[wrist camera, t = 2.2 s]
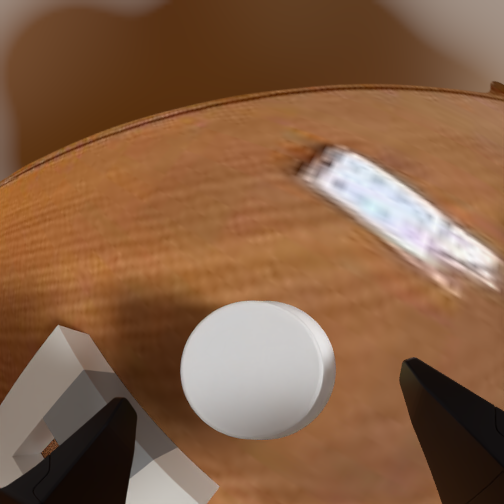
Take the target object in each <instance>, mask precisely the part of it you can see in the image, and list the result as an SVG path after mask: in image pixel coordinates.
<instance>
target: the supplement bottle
mask: <svg viewBox="0 0 504 504" xmlns="http://www.w3.org/2000/svg"><path fill="white" fill-rule="evenodd" d="M180 375H181V383H182V388H183V391H184V394H185V396H186V399H187V400H188V402H189V404H190V406H191V407H192V409H193V410H194V411H195V413H196V414H197V415H198V416H199V417H200V418H201V419H202V420H203V421H204V422H205V423H206V424H208V425H209V426H210V427H212V428H213V429H215V430H217V431H219V432H221V433H223V434H226V435H228V436H231V437H235V438H240V439H255V440H269V439H277V438H282V437H285V436H289V435H291V434H293V433H295V432H297V431H299V430H301V429H303V428H304V427H306V426H307V425H308V424H310V423H311V422H312V421H313V420H314V419H315V418H316V417H317V416H318V415H319V414H320V413H321V411H322V410H323V409H324V407H325V406H326V404H327V402H328V400H329V398H330V396H331V393H332V390H333V387H334V382H335V375H336V364H335V357H334V352H333V349H332V346H331V343H330V341H329V339H328V337H327V335H326V334H325V332H324V331H323V329H322V328H321V327H320V326H319V324H318V323H317V322H316V321H315V320H314V319H313V318H311V317H310V316H309V315H307V314H306V313H305V312H303V311H301V310H299V309H298V308H296V307H294V306H291V305H288V304H285V303H281V302H276V301H241V302H236V303H232V304H229V305H226V306H223V307H221V308H219V309H217V310H215V311H213V312H212V313H211V314H209V315H208V316H206V317H205V318H204V319H203V320H202V321H201V322H200V323H199V324H198V325H197V326H196V327H195V329H194V330H193V331H192V333H191V335H190V336H189V338H188V340H187V342H186V345H185V347H184V350H183V354H182V358H181V366H180Z"/></svg>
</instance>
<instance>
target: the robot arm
mask: <svg viewBox="0 0 504 504" xmlns="http://www.w3.org/2000/svg"><path fill="white" fill-rule="evenodd" d="M399 380H400V386H401V389H402V392H403V395H404V399H405V402H406V405H407V409H408V412H409V416H410V419H411V422H412V425H413V428H414V430H415V432H416V435H417V437H418V440H419V442H420V445H421V447H422V450H423V452H424V455H425V457H426V460H427V463H428V465H429V468H430V470H431V473H432V476H433V479H434V481H435V484H436V487H437V490H438V493H439V496H440V499H441V502H442V504H504V411H503V410H501V409H499V408H498V407H495V406H494V405H493V404H491V403H489V402H488V401H486V400H485V399H483V398H481V397H480V396H478V395H476V394H475V393H473V392H471V391H470V390H468V389H467V388H465V387H463V386H462V385H460V384H458V383H457V382H455V381H454V380H452V379H450V378H449V377H447V376H445V375H444V374H442V373H441V372H439V371H437V370H436V369H434V368H432V367H431V366H429V365H427V364H426V363H424V362H423V361H421V360H419V359H418V358H415V357H413V358H409V359H406V360H404V361H403V363H402V367H401V373H400V379H399ZM136 427H137V413H136V411H135V409H134V408H133V406H132V405H131V403H130V402H129V401H128V399H127V398H125V397H115V398H113V399H112V400H111V401H110V402H109V403H107V404H106V405H105V406H104V407H103V408H102V409H101V410H100V411H98V412H97V413H96V414H95V415H94V416H93V417H92V418H91V419H89V420H88V421H87V422H86V423H85V424H84V425H83V426H81V427H80V428H79V429H78V430H77V431H76V432H75V433H73V434H72V435H71V436H70V437H69V438H68V439H67V440H65V441H64V442H63V443H62V444H61V445H60V446H58V447H57V448H56V449H55V450H54V451H53V452H51V455H50V454H49V455H48V456H47V457H46V458H44V459H43V460H42V461H41V462H40V463H38V464H37V465H36V466H35V467H33V468H32V469H31V470H29V471H28V472H26V473H25V474H23V475H22V476H21V477H19V478H18V479H16V480H15V481H13V482H12V483H10V484H9V485H7V486H5V487H3V488H0V504H126V497H127V491H128V485H129V479H130V474H131V468H132V463H133V457H134V450H135V438H136Z"/></svg>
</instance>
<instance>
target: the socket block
mask: <svg viewBox="0 0 504 504" xmlns="http://www.w3.org/2000/svg"><path fill="white" fill-rule="evenodd" d="M115 397H125V398H127V399H128V401H129V402H130V403H131V405H132V406H133V408H134V409H135V411H136V413H137V427H136V438H135V450H134V457H133V463H132V468H131V474H130V479H129V485H128V491H127V497H126V504H207V503H208V501H209V500H210V499H211V497H212V496H213V495H214V493H215V492H216V491H217V489H218V488H219V487H220V486H219V485H217V484H216V483H215V482H214V481H213V480H212V479H210V478H209V477H208V476H207V475H206V474H205V473H204V472H203V471H202V470H201V469H199V468H198V467H197V466H196V465H195V464H194V463H193V462H192V461H191V460H190V459H189V458H188V457H187V456H186V455H185V454H184V453H183V452H182V451H181V450H180V449H179V448H178V447H177V446H176V445H175V444H174V443H173V442H172V441H171V440H170V439H169V438H168V437H167V436H166V435H165V433H164V432H163V431H162V430H161V429H160V428H159V427H158V426H157V425H156V423H155V422H154V421H153V420H152V419H151V418H150V417H149V415H148V414H147V413H146V412H145V411H144V410H143V408H142V407H141V406H140V405H139V404H138V402H137V401H136V400H135V399H134V397H133V396H132V395H131V394H130V392H129V391H128V390H127V388H126V387H125V386H124V384H123V383H122V382H121V381H120V379H119V378H118V376H117V375H116V374H115V372H114V371H113V370H112V368H111V367H110V365H109V364H108V363H107V361H106V360H105V358H104V357H103V355H102V354H101V352H100V351H99V349H98V348H97V346H96V345H95V343H94V342H93V340H92V339H91V337H90V335H89V334H86V333H82V332H79V331H76V330H73V329H69V328H66V327H63V326H60V325H58V326H57V327H56V328H55V329H54V331H53V332H52V333H51V334H50V336H49V337H48V338H47V340H46V341H45V342H44V344H43V345H42V346H41V347H40V349H39V350H38V351H37V353H36V354H35V355H34V357H33V358H32V360H31V361H30V362H29V364H28V365H27V367H26V368H25V369H24V371H23V372H22V374H21V375H20V376H19V378H18V379H17V381H16V382H15V384H14V385H13V387H12V388H11V390H10V391H9V393H8V394H7V396H6V397H5V399H4V400H3V402H2V404H1V405H0V487H1V488H3V487H5V486H7V485H9V484H10V483H12V482H13V481H15V480H16V479H18V478H19V477H21V476H22V475H23V474H25V473H26V472H28V471H29V470H31V469H32V468H33V467H35V466H36V465H37V464H38V463H40V462H41V461H42V460H43V459H44V458H43V456H42V454H41V452H42V451H43V450H44V449H45V448H46V447H47V446H48V445H49V444H50V442H51V441H52V440H53V439H54V438H55V440H56V441H57V443H58V444H59V446H60V445H61V444H62V443H63V442H64V441H65V440H67V439H68V438H69V437H70V436H71V435H72V434H73V433H75V432H76V431H77V430H78V429H79V428H80V427H81V426H83V425H84V424H85V423H86V422H87V421H88V420H89V419H91V418H92V417H93V416H94V415H95V414H96V413H97V412H98V411H100V410H101V409H102V408H103V407H104V406H105V405H106V404H107V403H109V402H110V401H111V400H112V399H113V398H115Z"/></svg>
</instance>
